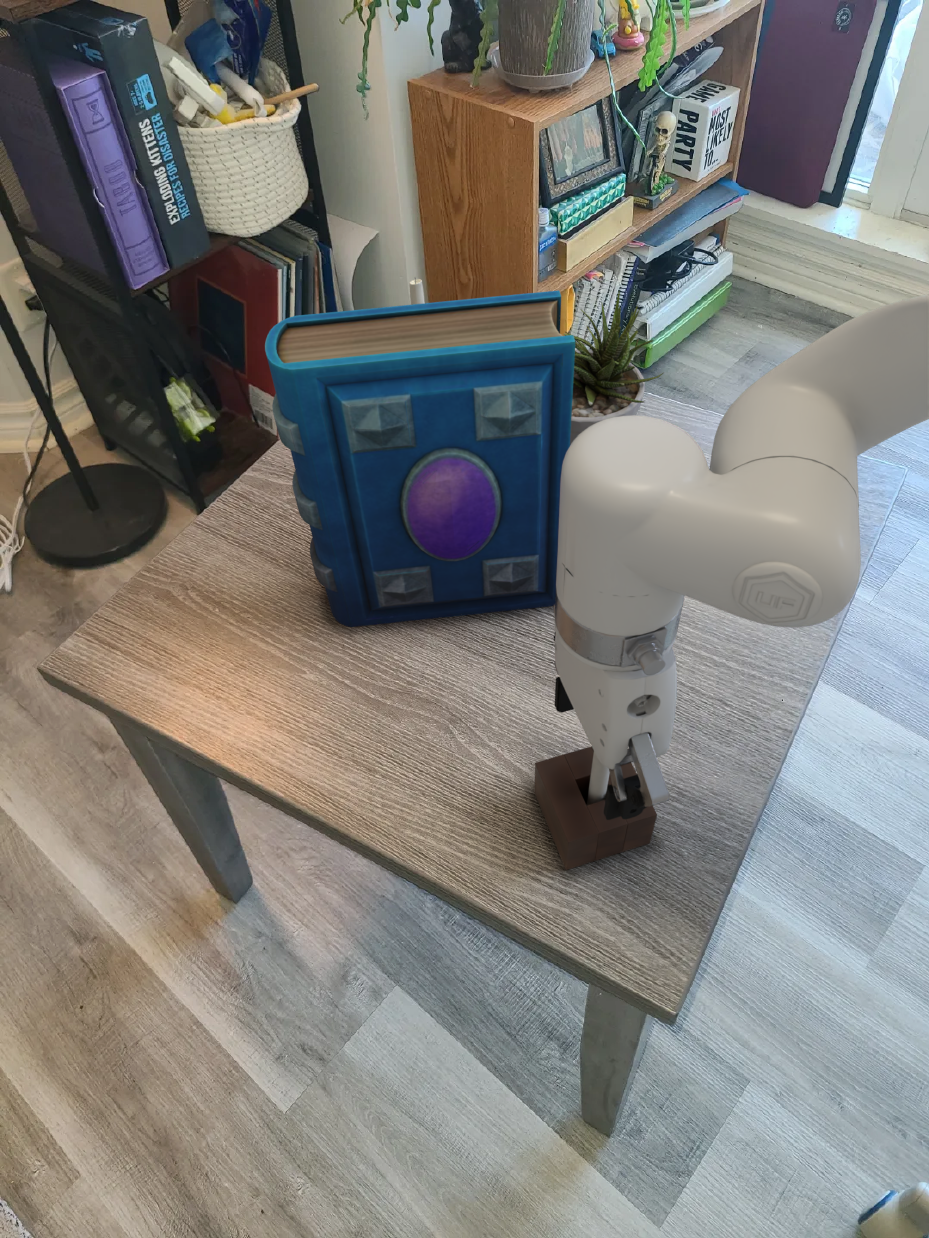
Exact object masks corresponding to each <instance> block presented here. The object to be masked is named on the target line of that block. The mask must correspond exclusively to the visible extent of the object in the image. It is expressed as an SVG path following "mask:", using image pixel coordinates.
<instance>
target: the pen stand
mask: <svg viewBox="0 0 929 1238" xmlns="http://www.w3.org/2000/svg"><path fill="white" fill-rule="evenodd" d="M593 755H594V750H593V748H592V746H588V747H584V748H581V749H578V750H574V751H571V752H567V753H564V754H560V755H557V756H553V757H550V758H547V759H543V760H539V761H537V762H534V788H533V789H534V792H533V794H534V796H535V798H536V801H537V804H538V805H539V808H540V810H541V813H542V815H543V817H544V820H545V822H546V825H547V828H548V830H549V833H550V835H551V838H552V840H553V842H554V845H555V848H556V850H557V853H558V854H559V857H560V860H561V862H562V865H563V867H564V869H565V871H568V870H571V869H575V868H578V867H580V866H583V865H588V864H591V863H594V862H595V861H599V860H602V859H605V858H609V857H612V856H614V855H618V854H621V853H624V852H627V851H631V850H633V849H637V848H639V847H642V846H643V847H644V846H646V845H649V844H651V842H652V837H653V835H654V834H653V833H654V830H655V825H656V821H657V817H658V813H657V811H656V809H655V807H654V805H653V806H647V807H646V808H645V809H643V812H642V813H641V814H639V815H638V816H636V817H633V818H630V819H622V817H617V818H614V819H611V820H607V819H606V817H605V815H604V806H605V800H603V801H600V802H596V803H593V804H590V805H587V799H588V792H589V784H590V777H591V770H592V762H593ZM621 769H622V774H623V779H624V778H627V777H631V776H634V775H637V771H636V768H635V766H634V764H633V762H632V763H628V764H625V765H622V766H621ZM611 784H612V781H611V777H610V773H609V779H608V785H607V787H608V786H609V785H611ZM606 792H607V791H606ZM605 799H606V797H605Z"/></svg>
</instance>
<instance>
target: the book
mask: <svg viewBox="0 0 929 1238" xmlns="http://www.w3.org/2000/svg"><path fill="white" fill-rule="evenodd" d="M561 314H562V294H561V290H560V289H559V290H558V289H557V290H549V291H548V290H547V291H539V292H527V293H519V294H518V293H517V294H508V295H507V294H506V295H498V296H487V297H486V296H485V297H477V298H475V297H474V298H466V299H465V298H464V299H457V300H455V299H454V300H446V301H436V302H435V301H434V302H425V303H423V304H413V305H411V304H404V305H391V306H383V307H382V306H381V307H373V308H362V309H351V310H341V311H332V312H321V313H310V314H300V315H299V314H298V315H293V316H290V317H287V318H285V319H282V320H281V321H279V322H278V323H277V324H274V325H273V326H272V328H271V329H270V330H269V331H268V333H267V336H266V338H265V343H264V351H265V355H266V359H267V363H268V368H269V371H270V374H271V379H272V383H273V387H274V390H275V394H274V397H273V400H272V405H271V406H272V415H273V418H274V422H275V425H276V429H277V430H276V431H277V433H278V434H277V435H278V437H279V440H280V442H281V443H282V445H283V446H284V447H285V448H287V449H288V450H290V454H291V458H292V461H293V465H294V466H293V467H294V472H293V475H292V483H291V484H292V491H293V495H294V499H295V502H296V507H297V510H298V513H299V516H300V518H301V520H302V521H303V522H304V523H305V524H307V525H308V526H309V529H310V534H311V540H310V543H309V556H310V560H311V565H312V568H313V572H314V575H315V578H316V580H317V581H318V583H319V585H321V586H322V587H324V588H325V593H326V597H327V600H328V605H329V608H330V612H331V614H332V617H333V618H334V620H335V621H336V622H338V624H340V625H343V626H345V627H349V628H357V627H367V626H374V625H386V624H394V623H403V622H413V621H415V622H416V621H422V620H423V621H424V620H432V619H443V618H453V617H461V616H469V615H480V614H481V615H482V614H490V613H499V612H509V611H510V612H511V611H518V610H528V609H538V608H547V607H553V605H554V604H555V599H556V576H557V556H558V533H559V508H560V483H561V472H562V464H563V460H564V457H565V455H566V452H567V450H568V449H569V447H570V436H571V417H572V398H573V379H574V359H575V350H576V348H575V342H576V341H575V339H574V336H575V335H574V334H571V335H568V336H565V335H563V334H562V333H561V317H562V315H561Z"/></svg>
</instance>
